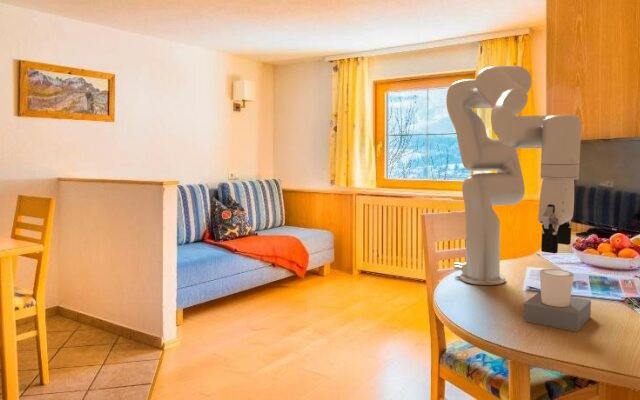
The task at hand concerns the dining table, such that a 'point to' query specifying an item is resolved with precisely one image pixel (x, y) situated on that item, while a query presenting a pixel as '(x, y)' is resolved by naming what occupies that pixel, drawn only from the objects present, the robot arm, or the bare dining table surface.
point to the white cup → (556, 287)
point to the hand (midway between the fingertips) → (556, 247)
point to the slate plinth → (558, 313)
